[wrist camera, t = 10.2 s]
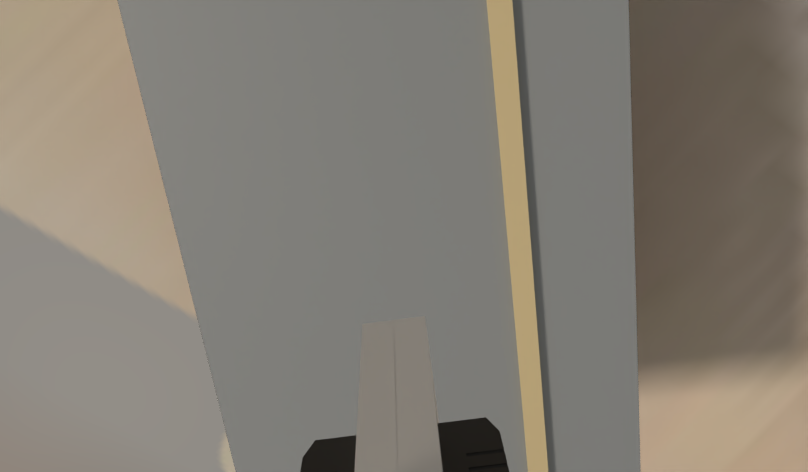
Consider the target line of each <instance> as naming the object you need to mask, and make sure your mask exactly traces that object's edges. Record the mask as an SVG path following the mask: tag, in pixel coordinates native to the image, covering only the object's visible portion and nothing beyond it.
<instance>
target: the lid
mask: <svg viewBox="0 0 808 472" xmlns="http://www.w3.org/2000/svg"><path fill="white" fill-rule="evenodd" d="M118 4H119V8H120V12H121V16H122V20H123V24H124V28H125V32H126V36H127V40H128V44H129V48H130V52H131V56H132V60H133V64H134V68H135V72H136V76H137V80H138V84H139V88H140V92H141V96H142V100H143V104H144V108H145V112H146V116H147V120H148V124H149V128H150V132H151V136H152V140H153V144H154V148H155V152H156V156H157V160H158V164H159V168H160V172H161V176H162V180H163V184H164V188H165V192H166V196H167V199H168V203H169V207H170V211H171V215H172V219H173V223H174V227H175V231H176V235H177V239H178V243H179V247H180V251H181V255H182V259H183V263H184V267H185V271H186V275H187V279H188V283H189V287H190V291H191V295H192V299H193V303H194V307H195V311H196V315H197V319H198V323H199V327H200V330H201V335H202V339H203V343H204V347H205V350H206V354H207V358H208V363H209V367H210V370H211V374H212V379H213V383H214V387H215V390H216V395H217V399H218V402H219V406H220V410H221V414H222V418H223V422H224V426H225V430H226V434H227V438H228V442H229V446H230V450H231V454H232V458H233V462H234V466H235V470H236V472H300V471H301V464H302V458H303V456H304V455H305V454H306V452H307V451H308V449H309V448H310V447H311V445H312V444H313V442H314V441H315V440H321V439H329V438H337V437H345V436H353V435H356V433H357V415H358V396H359V378H360V360H361V341H362V324H366V323H374V322H382V321H390V320H398V319H406V318H413V317H421V316H425V321H426V328H427V335H428V343H429V350H430V358H431V365H432V373H433V380H434V388H435V395H436V403H437V410H438V418H439V423H444V422H452V421H460V420H468V419H476V418H484V417H486V418H487V419H488V420H489V421H490V422H491V423H492V424H493V425H494V426H495V427H496V428H497V429H498V430H499V431H500V434H501V439H502V443H503V447H504V452H505V455H506V460H507V464H508V468H509V472H640V435H639V395H638V355H637V315H636V275H635V235H634V195H633V155H632V115H631V75H630V35H629V0H118Z"/></svg>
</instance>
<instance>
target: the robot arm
mask: <svg viewBox="0 0 808 472" xmlns="http://www.w3.org/2000/svg"><path fill="white" fill-rule="evenodd" d="M300 472H509V468H508V464H507V460H506V455H505V452H504V447H503V443H502V439H501V434H500V431H499V430H498V429H497V428H496V427H495V426H494V425H493V424H492V423H491V422H490V421H489V420H488V419H487V418H486V417H484V418H476V419H468V420H460V421H452V422H444V423H439V418H438V410H437V403H436V395H435V388H434V380H433V373H432V365H431V358H430V350H429V343H428V335H427V328H426V321H425V316H421V317H413V318H406V319H398V320H390V321H382V322H374V323H366V324H362V341H361V360H360V378H359V396H358V415H357V433H356V435H353V436H345V437H337V438H329V439H321V440H315V441H314V442H313V444H312V445H311V447H310V448H309V449H308V451H307V452H306V454H305V455H304V456H303V458H302V464H301V471H300Z"/></svg>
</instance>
